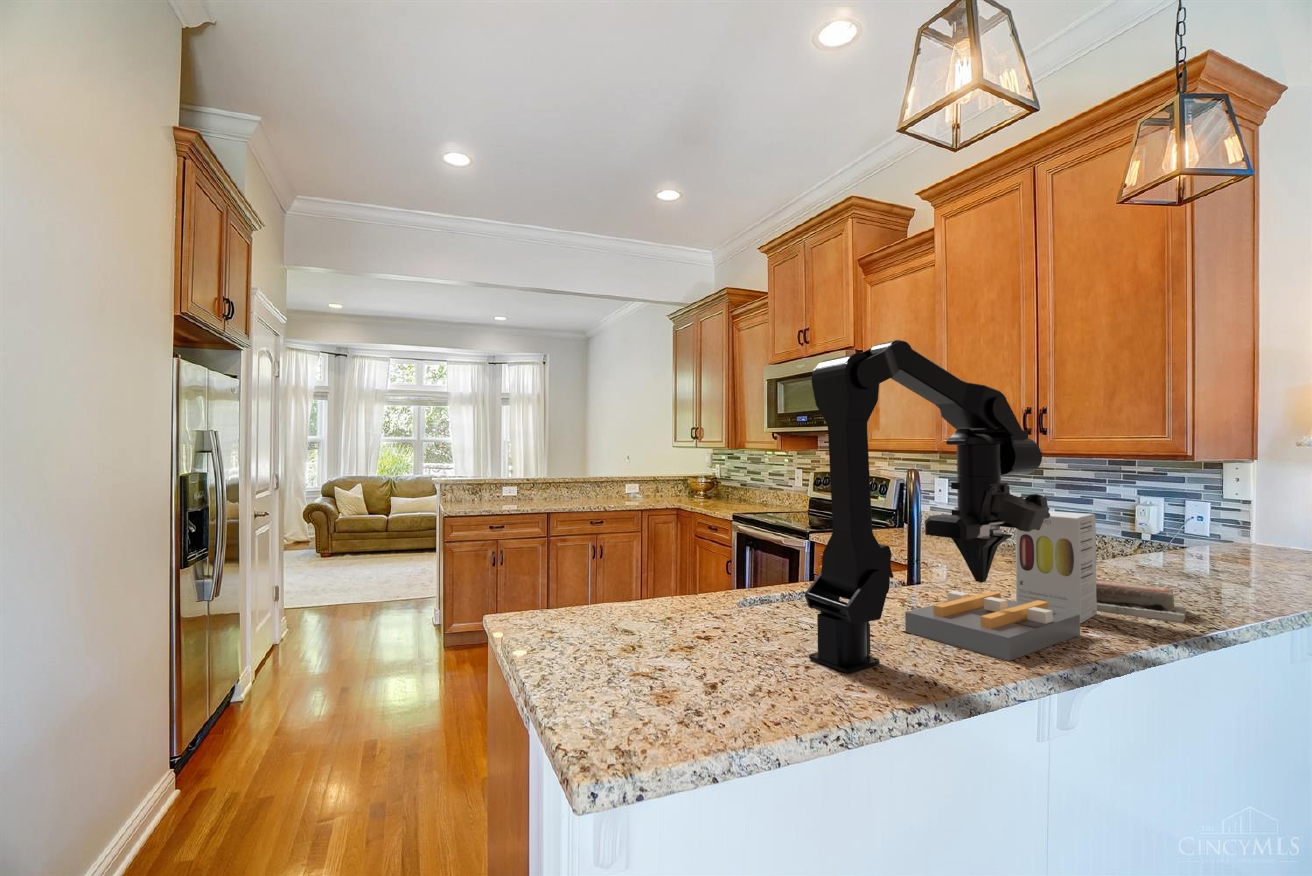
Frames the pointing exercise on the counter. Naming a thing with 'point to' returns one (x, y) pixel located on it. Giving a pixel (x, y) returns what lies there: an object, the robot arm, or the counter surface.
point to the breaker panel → (994, 629)
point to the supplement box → (1059, 564)
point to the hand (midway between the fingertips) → (980, 581)
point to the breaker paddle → (995, 604)
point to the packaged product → (1138, 601)
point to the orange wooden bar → (963, 604)
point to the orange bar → (1010, 614)
